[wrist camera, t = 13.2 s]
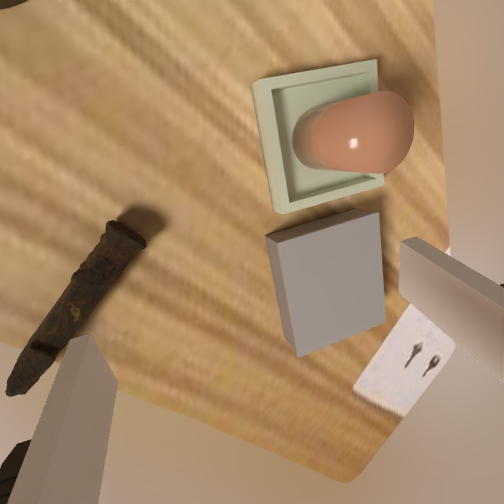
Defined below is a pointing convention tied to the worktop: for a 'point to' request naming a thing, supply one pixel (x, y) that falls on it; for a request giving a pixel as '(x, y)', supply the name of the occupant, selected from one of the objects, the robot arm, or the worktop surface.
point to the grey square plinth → (328, 278)
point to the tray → (282, 125)
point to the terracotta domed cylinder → (355, 134)
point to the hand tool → (75, 304)
